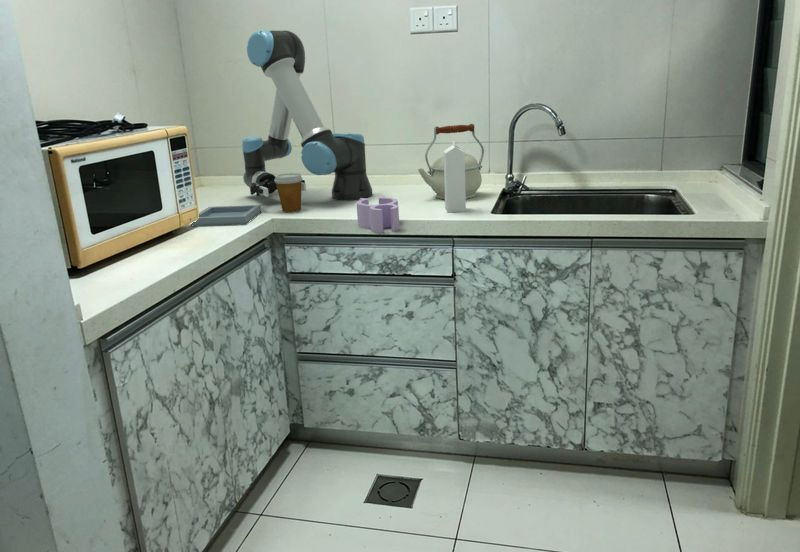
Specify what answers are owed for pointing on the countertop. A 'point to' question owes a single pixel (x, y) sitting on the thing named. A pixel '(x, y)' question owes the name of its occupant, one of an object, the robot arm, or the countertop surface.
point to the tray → (227, 215)
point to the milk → (454, 179)
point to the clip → (378, 214)
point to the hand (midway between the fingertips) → (286, 189)
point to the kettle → (437, 172)
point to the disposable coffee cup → (289, 191)
